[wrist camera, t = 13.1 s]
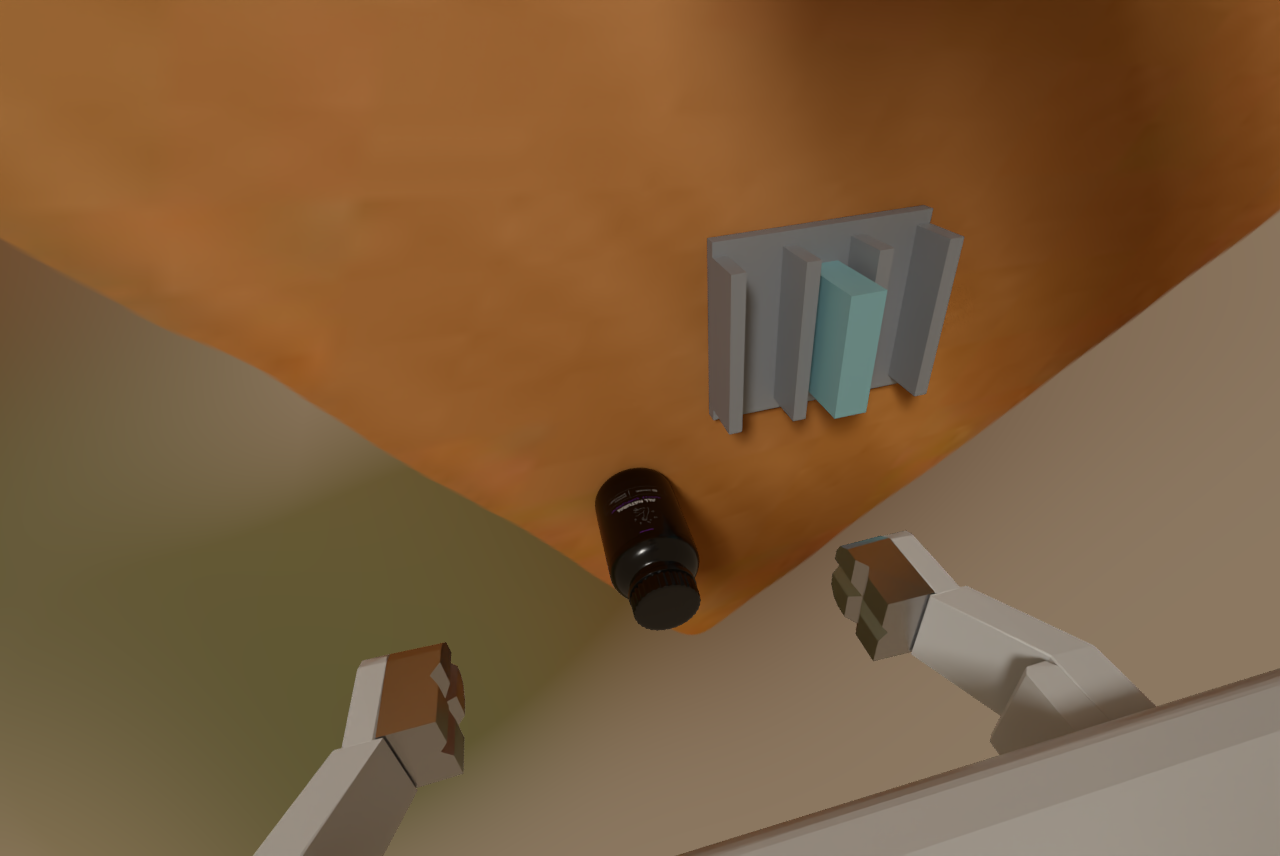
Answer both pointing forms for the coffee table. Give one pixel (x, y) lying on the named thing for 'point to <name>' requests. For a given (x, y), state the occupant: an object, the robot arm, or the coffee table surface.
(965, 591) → the robot arm
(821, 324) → the teal upright panel
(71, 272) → the coffee table surface
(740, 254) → the rack
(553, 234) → the coffee table surface
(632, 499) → the supplement bottle
